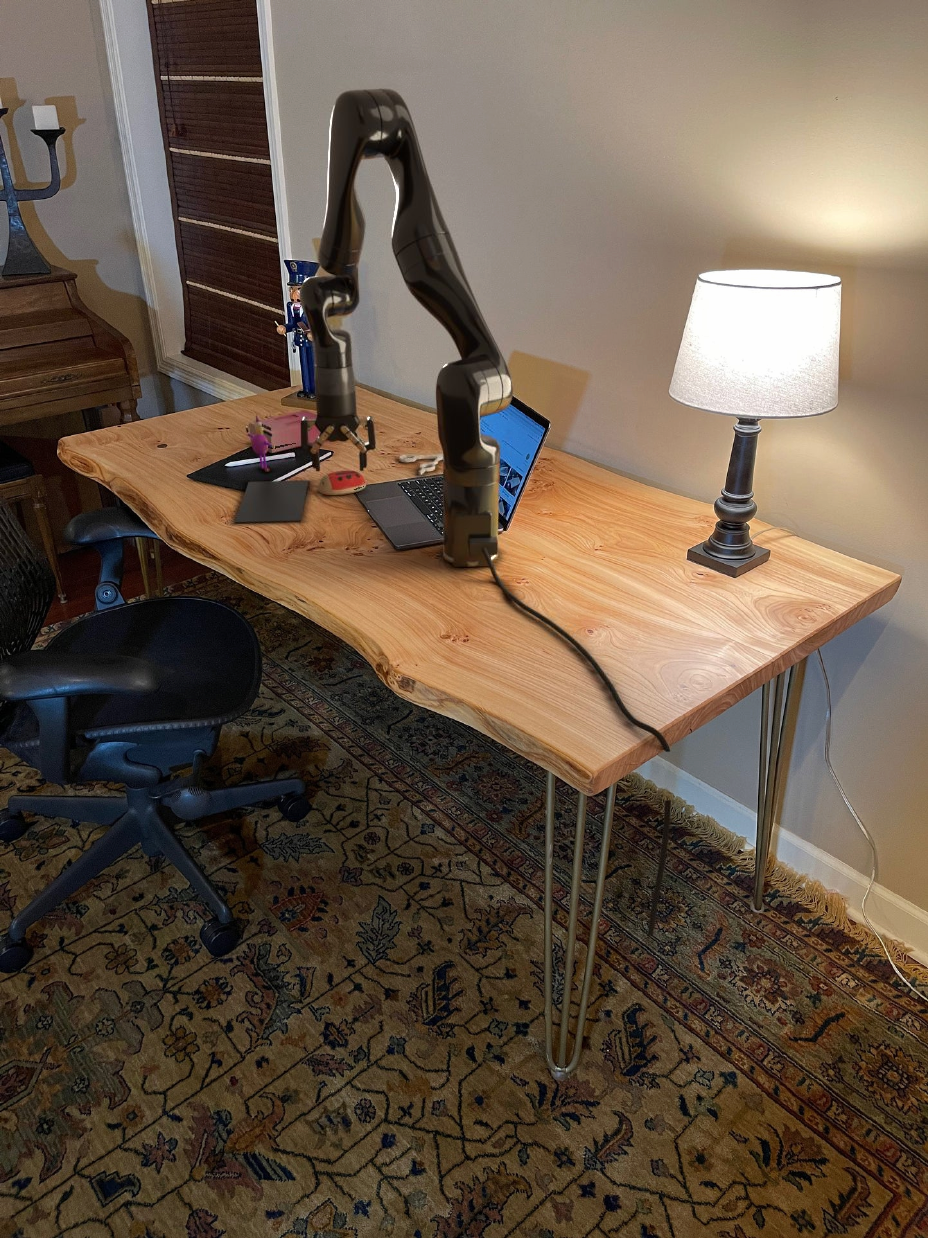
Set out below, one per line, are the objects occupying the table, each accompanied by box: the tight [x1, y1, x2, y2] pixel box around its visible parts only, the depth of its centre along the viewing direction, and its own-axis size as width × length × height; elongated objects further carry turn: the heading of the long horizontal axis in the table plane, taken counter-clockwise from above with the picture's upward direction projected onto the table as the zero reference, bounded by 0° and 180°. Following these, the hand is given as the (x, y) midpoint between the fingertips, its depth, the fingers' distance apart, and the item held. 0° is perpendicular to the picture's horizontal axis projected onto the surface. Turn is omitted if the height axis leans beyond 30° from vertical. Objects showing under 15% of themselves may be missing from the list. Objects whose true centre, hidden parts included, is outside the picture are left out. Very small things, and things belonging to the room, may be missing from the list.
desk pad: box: [233, 480, 310, 524], centre depth 174 cm, size 20×12×1 cm, turn 4°
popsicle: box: [248, 409, 328, 454], centre depth 205 cm, size 9×5×20 cm
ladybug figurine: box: [317, 470, 368, 496], centre depth 178 cm, size 7×10×4 cm
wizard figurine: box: [245, 413, 275, 473], centre depth 185 cm, size 11×3×12 cm, turn 41°
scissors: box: [398, 452, 443, 476], centre depth 195 cm, size 11×1×20 cm
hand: (340, 469), depth 177 cm, fingers open, 8 cm apart
